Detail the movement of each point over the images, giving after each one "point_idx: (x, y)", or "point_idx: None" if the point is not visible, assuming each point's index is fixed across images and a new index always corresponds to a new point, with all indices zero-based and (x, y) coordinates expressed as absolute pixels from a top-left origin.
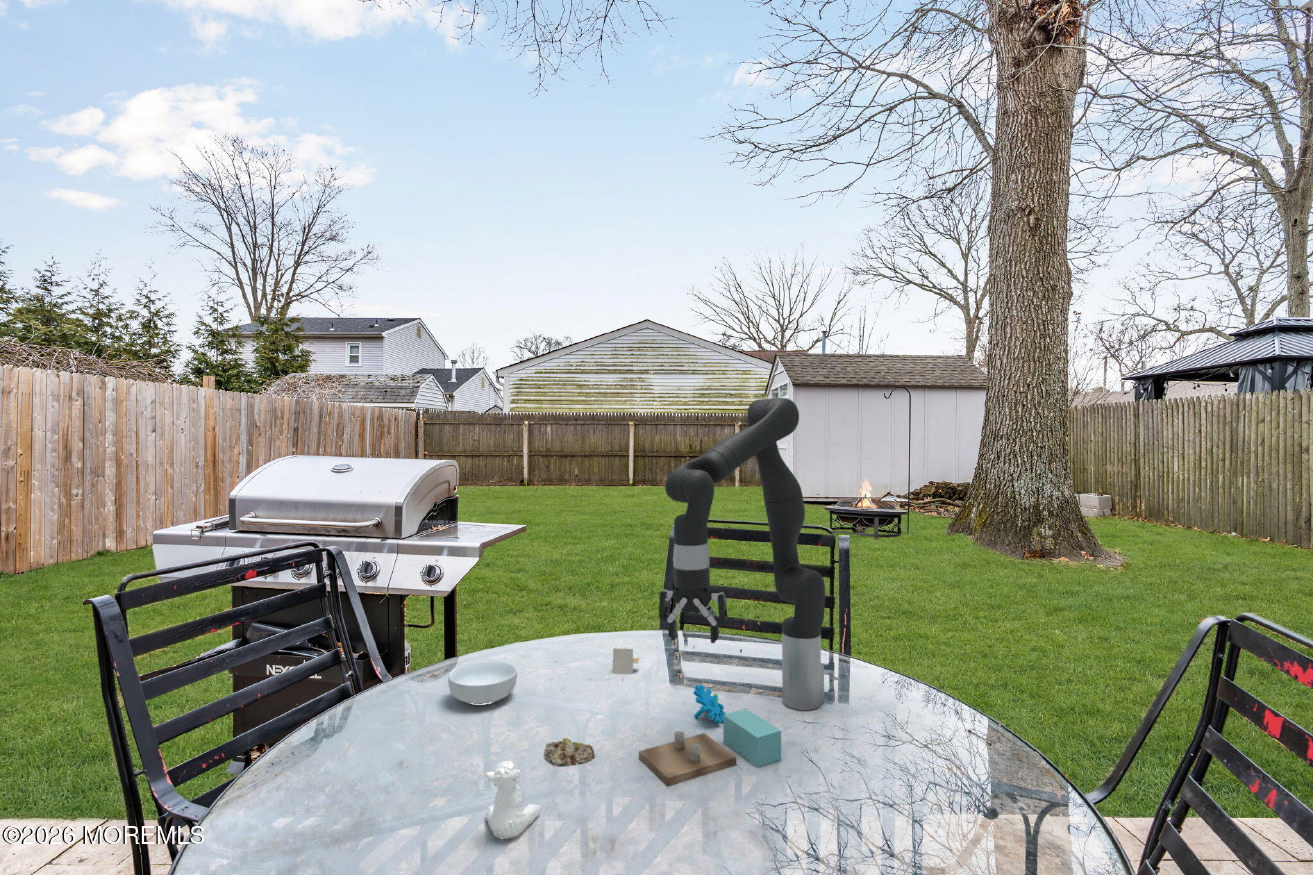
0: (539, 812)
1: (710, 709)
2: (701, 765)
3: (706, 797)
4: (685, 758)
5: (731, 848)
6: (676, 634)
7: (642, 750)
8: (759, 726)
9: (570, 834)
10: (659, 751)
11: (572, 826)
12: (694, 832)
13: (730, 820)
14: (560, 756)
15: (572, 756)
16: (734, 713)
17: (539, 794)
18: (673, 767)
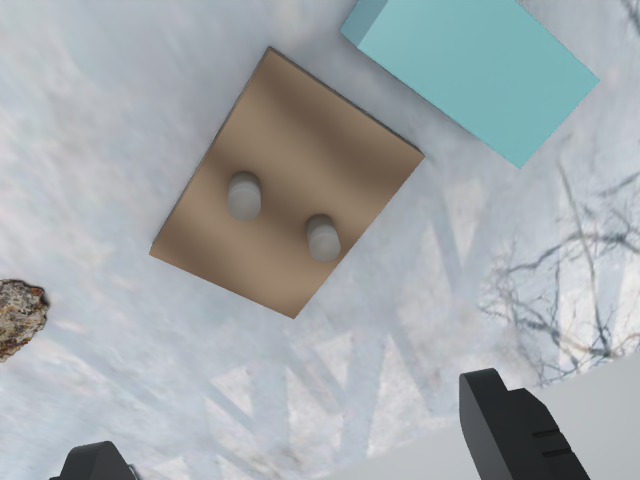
0: (133, 473)
1: None
2: (346, 239)
3: (389, 303)
4: (290, 228)
5: None
6: (103, 478)
7: (155, 246)
8: (519, 84)
9: (216, 469)
10: (203, 229)
11: (204, 458)
12: (402, 388)
13: (455, 339)
14: None
15: (12, 344)
16: (399, 8)
17: (74, 432)
18: (283, 278)
